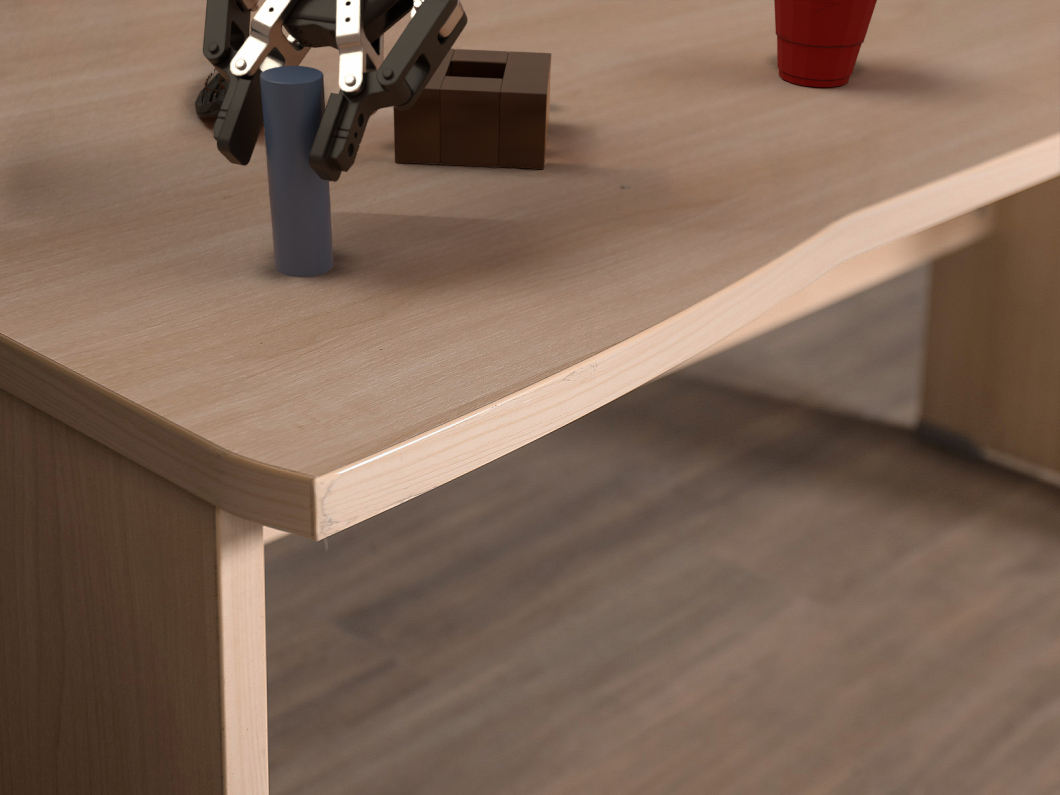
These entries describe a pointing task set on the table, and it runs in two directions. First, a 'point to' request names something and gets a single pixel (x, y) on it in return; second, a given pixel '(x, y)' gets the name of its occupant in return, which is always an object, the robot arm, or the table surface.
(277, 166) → the handle
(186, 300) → the table surface
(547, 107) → the holder
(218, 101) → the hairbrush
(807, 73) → the plastic cup
